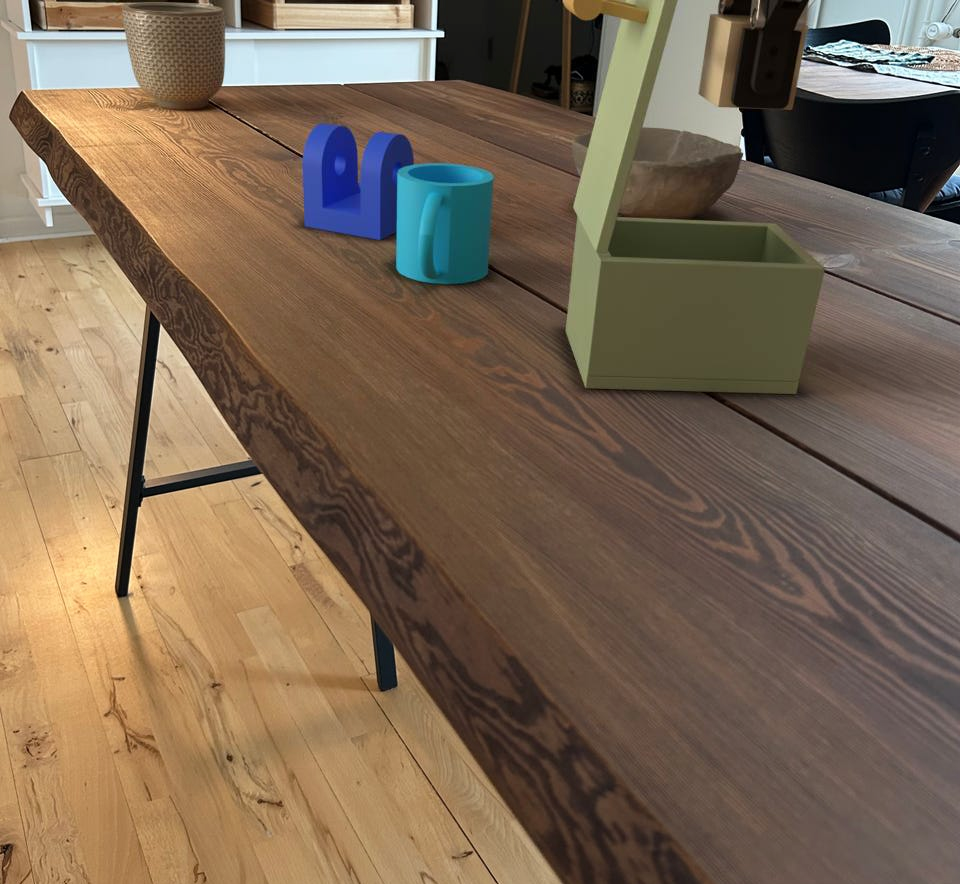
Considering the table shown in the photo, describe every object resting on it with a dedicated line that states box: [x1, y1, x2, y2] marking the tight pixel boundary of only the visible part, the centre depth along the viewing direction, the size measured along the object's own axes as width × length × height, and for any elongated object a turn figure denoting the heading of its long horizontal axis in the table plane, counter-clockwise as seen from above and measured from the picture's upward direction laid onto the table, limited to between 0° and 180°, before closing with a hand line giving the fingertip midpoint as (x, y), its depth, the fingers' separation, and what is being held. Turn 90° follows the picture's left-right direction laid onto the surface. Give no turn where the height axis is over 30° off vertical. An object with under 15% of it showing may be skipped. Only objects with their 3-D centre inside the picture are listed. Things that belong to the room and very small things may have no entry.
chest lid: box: [562, 0, 679, 254], centre depth 66 cm, size 16×11×5 cm
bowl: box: [571, 126, 744, 220], centre depth 109 cm, size 18×18×8 cm
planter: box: [121, 1, 226, 111], centre depth 147 cm, size 14×14×13 cm
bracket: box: [302, 122, 415, 241], centre depth 104 cm, size 18×8×9 cm, turn 157°
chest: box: [565, 215, 826, 395], centre depth 73 cm, size 15×11×9 cm
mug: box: [395, 162, 494, 285], centre depth 87 cm, size 12×8×8 cm
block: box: [698, 13, 809, 111], centre depth 59 cm, size 4×4×4 cm
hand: (745, 95), depth 60 cm, fingers closed on block, 4 cm apart
